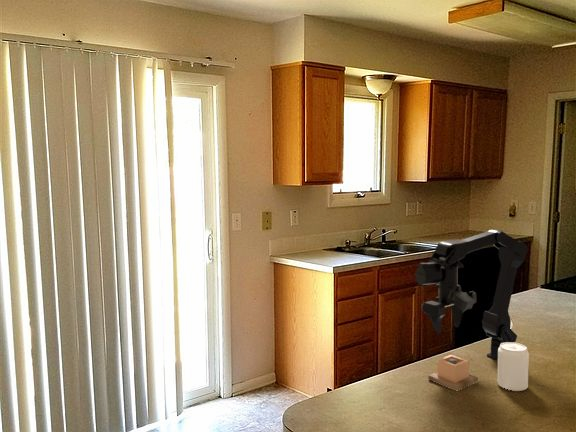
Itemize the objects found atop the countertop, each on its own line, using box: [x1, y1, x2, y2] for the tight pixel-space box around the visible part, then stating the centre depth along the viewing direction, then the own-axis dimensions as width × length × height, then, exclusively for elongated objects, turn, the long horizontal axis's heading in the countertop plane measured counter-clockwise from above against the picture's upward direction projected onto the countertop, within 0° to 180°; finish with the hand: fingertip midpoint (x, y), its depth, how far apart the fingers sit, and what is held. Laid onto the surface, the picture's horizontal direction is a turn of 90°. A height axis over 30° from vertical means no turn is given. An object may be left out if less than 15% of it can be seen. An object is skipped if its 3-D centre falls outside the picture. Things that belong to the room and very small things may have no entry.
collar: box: [436, 354, 470, 383], centre depth 154 cm, size 6×6×5 cm
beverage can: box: [497, 342, 530, 392], centre depth 149 cm, size 8×8×12 cm
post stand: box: [428, 359, 479, 391], centre depth 154 cm, size 10×10×6 cm
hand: (447, 329), depth 164 cm, fingers open, 9 cm apart
